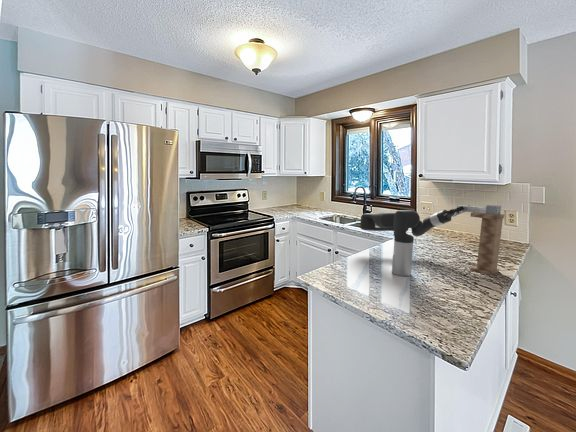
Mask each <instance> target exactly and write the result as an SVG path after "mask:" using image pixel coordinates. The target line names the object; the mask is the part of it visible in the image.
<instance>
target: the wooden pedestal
mask: <svg viewBox="0 0 576 432" xmlns="http://www.w3.org/2000/svg"><path fill="white" fill-rule="evenodd" d="M470 217H472V218H479V219H481V224H480V235H479V241H478V242H479V244H478V252H477V259H476V260H477V261H476V264H475V265H472V266H471V267H469V270H470V271H471V272H472V271H473V272H478V273H481V274H484V275H489V276H492V275H494V274H496V273H499V271H500V269H499V268H498V263H499V255H500V254H499V253H500V246H501V239H502V238H501V237H502V228H503V221H504V219H505V214H504V213H500V215H491V214H483V213H473V212H470Z"/></svg>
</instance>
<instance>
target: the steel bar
mask: <svg viewBox="0 0 576 432" xmlns="http://www.w3.org/2000/svg"><path fill="white" fill-rule="evenodd" d="M460 206H463V208H464V210H462V211H464V213H483V214H491V215H500V214H502V213H501V211H502V205H497V204H496V205H495V204H487V205H486V207H485V206H473V205H470V206H468V205H463V204H459V205H456V208H458V207H460ZM462 211H461V212H462Z"/></svg>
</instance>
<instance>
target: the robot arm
mask: <svg viewBox="0 0 576 432" xmlns="http://www.w3.org/2000/svg"><path fill="white" fill-rule="evenodd" d="M467 206H471V205H469V204H468V205H467ZM462 210H464V208H463V206H460V207H458V208H457V207H456V208H452V209H449V210H447V209H442V210H440V211H437V212H436V213H434V214H432V215H430V216H428V217H425V218H424V219H423V220H421V218H420V215H419V213H418V212H417V211H415V210H414V209H400V210H397V211H395V212H394V211H384V212H376V213H372V212H370V213H362V214H361V217H360V223H359V224H360V225H359V227H360V229H361V231H370V232H372V231H373V232H393V236H394V237H393V238H394V239H393V240H394V242H393V253H392V254H393V255H392V261H391V262H392V264H391V274H393V275H395V276H396V275H397V276H400V277H409V276H411V275H412V267H413V252H414V239H415V238H414V237H421V236H423V235H425V234H426V233H427V232H428V231H430V230H431V229H433V228H435V227H438V226H442V225H444V224H447V223H450V222H451V221H452V217H453V218H455V217H457V216H458V215H461V214H463V213H465V212H464V211H462ZM409 229H411V234H412V235H411V234H409V233H408V231H409Z"/></svg>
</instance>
